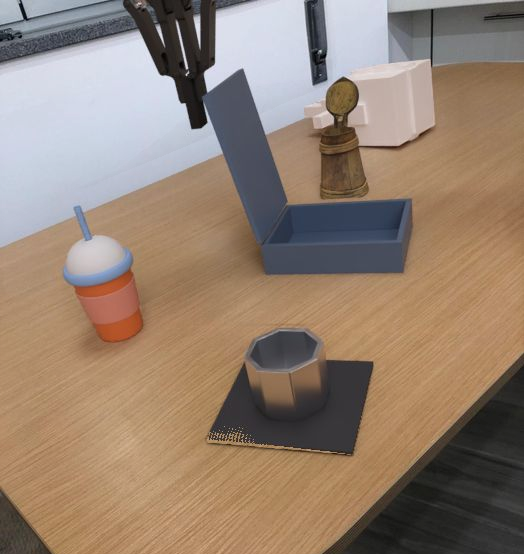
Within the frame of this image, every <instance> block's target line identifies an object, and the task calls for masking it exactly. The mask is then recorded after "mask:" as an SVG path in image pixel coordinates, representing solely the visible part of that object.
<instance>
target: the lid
mask: <svg viewBox="0 0 524 554" xmlns="http://www.w3.org/2000/svg"><path fill="white" fill-rule="evenodd" d="M202 99H203V102H204V107H205V111H206V113H207V114H208V115H207V116H208V118H209V120H210V122H211V123H210V124H211V126H212V128H213V131H214V134H215V136H216V138H217V141H218V144H219V147H220V149H221V153H222V154H223V157H224V160H225V162H226V165H227V168H228V170H229V173H230V175H231V178H232V180H233V181H232V182H233V184H234V186H235V190H236V191H237V194H238V197H239V200H240V202H241V204H242V205H241V206H242V208H243V210H244V213H245V215H246V218H247V221H248V223H249V226H250V229H251V231H252V234H253V236H254V239H255V242H256V244H262V243H263V242H264V240H265V239H266V237H267V235H268V234H269V232H270V230H271V229H272V227H273V226H274V224H275V222H276V221H277V219H278V218H279V216H280V214H281V213H282V211H283V209H284V208H285V206H286V205H288V202H289V200H288V198H287V194H286V190H285V189H284V185H283V183H282V180H281V177H280V174H279V171H278V168H277V164H276V162H275V159H274V155H273V153H272V150H271V146H270V144H269V141H268V138H267V134H266V132H265V129H264V126H263V123H262V120H261V118H260V117H261V116H260V114H259V111H258V107H257V106H256V102H255V99H254V97H253V93H252V90H251V87H250V84H249V81H248V79H247V75H246V72H245V69H244V68H243V67H242V68H239V69H237V70H236V71H235V72H233V73H232V74H231V75H229V76H228V77H226V78H225V79H224V80H223V81H221V82H220V83H219V84H217V85H216V86H215V87H213V88H212V89H210V90H209V91H207V94H205V95H204V96H203V97H202Z"/></svg>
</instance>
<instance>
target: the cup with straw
mask: <svg viewBox="0 0 524 554" xmlns="http://www.w3.org/2000/svg"><path fill="white" fill-rule="evenodd" d="M73 211H74V214H75V216H76V220H77V222H78V224H79V225H78V226H79V227H80V230H81V233H82V236H83V238H81V239H79V240H78V241H76V242H75V243H74V244H73V245H72V246H71V247H70V249H69V251H68V252H67V255H66V257H65V264H64V266H63V267H62V276H63V279H64V281H65V282H66V283H67V284H68V285H70V286H72V287H73V288H74V293H75V295H76V297H77V299H78V301H79V303H80V305H81V307H82V309H83V310H84V313H85V315H86V316H87V318H88V320H89V321H90V322H91V323H92V325H93V328H94V329H95V331H96V333H97V334H98V336H99V338H100V339H101V340H103V341H104V342H110V343H114V342H115V343H116V342H121V341H125V340H127V339H130V338H132V337H134V336H135V335H136V334H138V333H139V332H140V331H141V329H142V328H143V325H144V321H143V317H142V313H141V307H140V306H141V301H140V297H139V293H138V292H139V291H138V287H137V283H136V279H135V274H134V272H133V271H132V266H133V264H134V256H133V254H132V252H131V250H130V249H128V248H127V247H125V246H123V245H122V244H121V243H120V242H119V241H118V240H116V239H114V238H112V237H110V236H108V235H101V234H95V235H92V234H91V231H90V228H89V225H88V222H87V220H86V217H85V214H84V212H83V209H82V206H81V205H75V206H73Z"/></svg>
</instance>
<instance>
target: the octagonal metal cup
mask: <svg viewBox="0 0 524 554" xmlns="http://www.w3.org/2000/svg"><path fill="white" fill-rule="evenodd" d="M325 348H326V347H325V342H324V340H323V338H322V337H320V336H318V335H317V334H316V333H314V332H313V331H312V330H310V329H309V328H306V327H277V328H275V329H272V330H269V331H268V332H265V333H263V334H261V335H259V336H256V337H255V338H253V339H252V340H251V341H250V343H249V345H248V348H247V349H246V351H245V354H244V355H243V360H244V362H245V364H246V369H247V373H248V377H249V382H250V386H251V390H252V394H253V399H254V403H255V404H256V405H257V406H258V407H259V408H260V410H261V412H262V413H263V414H264V415H265V416H267V417H268V418H270V419H272V420H275V421H280V422H295V421H300V420H304V419H307V418H309V417H311V416H313V415H315V414H316V413H318V412H319V411H320V410H321V409H322V408H323V407H324V406H325V404H326V401H327V397H328V393H329V389H330V384H329V377H328V369H327V362H326V360H327V356H326V349H325Z"/></svg>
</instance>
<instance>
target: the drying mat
mask: <svg viewBox="0 0 524 554" xmlns="http://www.w3.org/2000/svg"><path fill="white" fill-rule="evenodd" d="M326 362H327V369H328V377H329V384H330V389H329V393H328V397H327V401H326V404H325V406H324V407H323V408H322V409H321V410H320V411H319V412H318V413H316V414H315V415H313V416H311V417H309V418H307V419H304V420H300V421H295V422H280V421H275V420H272V419H270V418H268V417H267V416H265V415H264V414H263V413H262V412H261V410H260V408H259V407H258V406H257V405H256V404H255V403H254V399H253V394H252V390H251V386H250V382H249V377H248V373H247V369H246V364H245V361H243V364H242V366H241V368H240V369H239V372H238V374H237V376H236V378H235V379H234V381H233V384H232V386H231V388H230V390H229V392H228V393H227V395H226V398H225V399H224V400H223V401H224V402H223V403H222V405H221V407H220V410H219V411H218V414H217V416H216V417H215V419H214V421H213V423H212V425H211V427H210V429H209V432H211V433H213V435H212V434H211V433H210V436H209V440H210V438H211V435H212V438H211V439H212V440H213V439H214V440H218V441H219V439H220V440H221V441H222V440H223V441H225V438H226V437H225V436H226V435H227V433H228V435H227V439H226V441H227V440H228V439H229V438H228V437H229V434H230V433H231V435H232V434H234V436H235V435H236V434H235V433H237V432H238V434H237V438H236V442H238V436H239V433H241V435H240V439H239V442H241V443H242V441H241V440H242V439H243V442H244V443H246V442H247V443H249V442H248V441H249V440H250V443H252V442H253V441H254V442H253V443H255V444H261V445H262V444H264V445H266V444H267V445H274V446H284V447H293V448H301V449H311V450H320V451H330V452H337V453H345V454H353V455H354V453H353V451H354V452H355V449H354V447H355V448H356V445H355V442H356V443H357V440H356V438H358V436H357V434H358V435H359V431H358V429H359V430H360V427H359V425H360V426H361V423H360V420H361V421H362V418H361V416H362V417H363V414H362V412H363V413H364V410H363V407H364V408H365V405H364V403H365V404H366V401H365V399H366V400H367V396H368V392H367V390H368V391H369V388H368V386H369V387H370V383H371V379H370V378H372V374H373V370H374V364H375V363H374V361H373V360H372V361H370V360H347V359H346V360H343V359H341V360H340V359H326ZM369 382H370V383H369ZM366 395H367V396H366ZM224 426H225V427H224ZM239 427H240V428H239ZM229 428H230V429H229ZM232 428H233V430H232ZM242 428H243V429H242ZM235 429H236V430H235ZM219 430H220V431H219ZM238 430H239V431H238ZM213 431H214V432H213ZM222 431H223V432H222ZM228 431H229V432H228ZM231 431H232V432H231ZM240 431H242V432H240ZM209 432H208V434H209ZM215 432H216V435H217V433H219V435H218V438H217V436H216V435H214V434H215ZM233 432H235V433H233ZM221 433H222V435H223V434H225V435H224V438H223V439H222V437H223V436H222V435H221V438H219V436H220V434H221ZM208 434H207V435H206V437H207V436H208ZM242 434H244V437H243V438H241V437H242V436H243V435H242ZM247 434H248V435H247ZM246 435H247V436H246ZM250 435H251V436H250ZM214 436H215V438H213V437H214ZM234 436H233V442H234V441H235V440H234V438H235V437H234ZM231 437H232V436H230V438H231ZM246 437H247V439H245V438H246ZM216 438H217V439H216ZM249 438H250V439H249ZM206 439H207V438H205V440H206ZM253 439H254V440H253ZM231 440H232V439H229V441H231ZM245 440H246V442H245ZM253 443H252V444H253Z"/></svg>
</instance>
